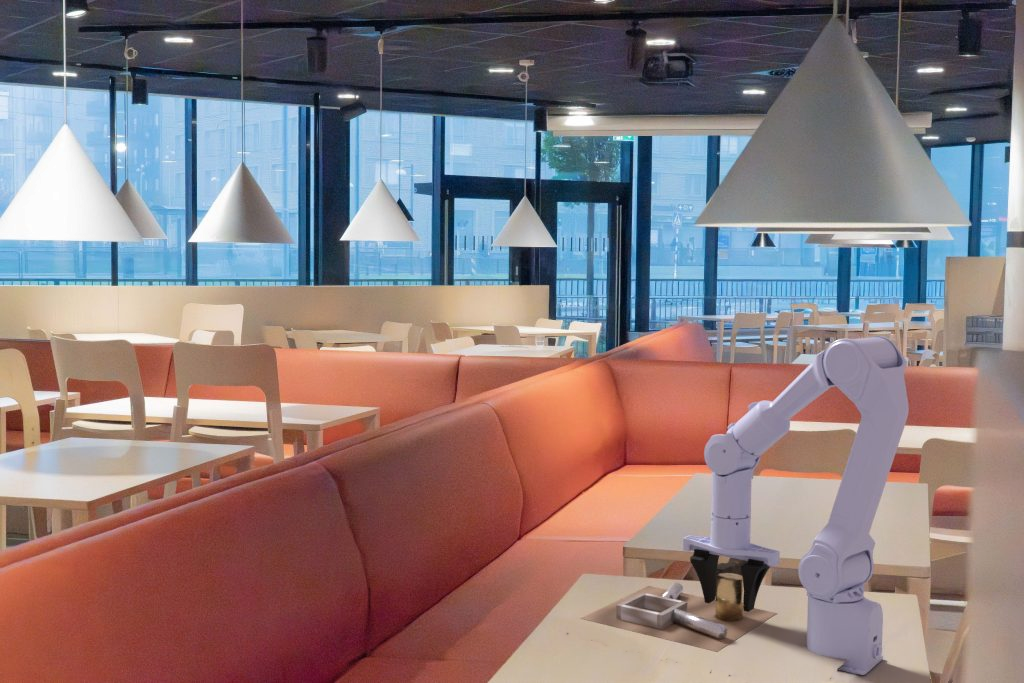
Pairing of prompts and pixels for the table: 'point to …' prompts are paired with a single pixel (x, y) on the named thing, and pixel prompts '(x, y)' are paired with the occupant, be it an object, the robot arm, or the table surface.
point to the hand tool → (731, 566)
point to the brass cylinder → (729, 597)
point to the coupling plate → (654, 619)
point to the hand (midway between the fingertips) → (729, 605)
